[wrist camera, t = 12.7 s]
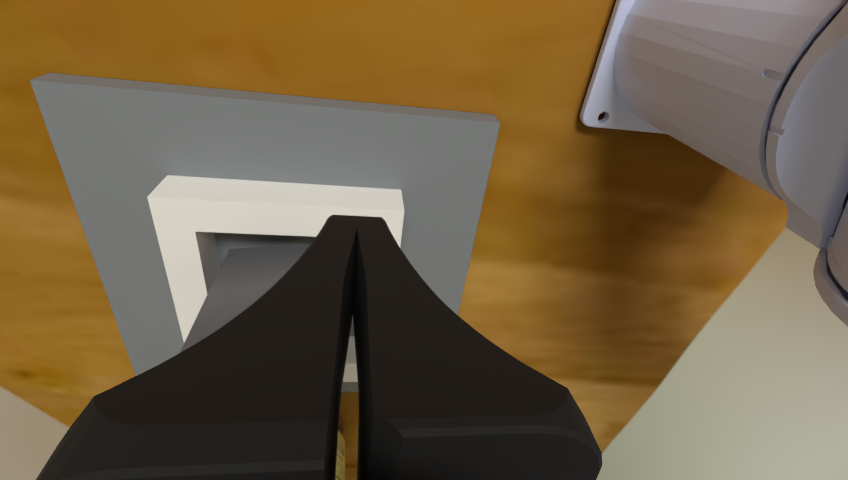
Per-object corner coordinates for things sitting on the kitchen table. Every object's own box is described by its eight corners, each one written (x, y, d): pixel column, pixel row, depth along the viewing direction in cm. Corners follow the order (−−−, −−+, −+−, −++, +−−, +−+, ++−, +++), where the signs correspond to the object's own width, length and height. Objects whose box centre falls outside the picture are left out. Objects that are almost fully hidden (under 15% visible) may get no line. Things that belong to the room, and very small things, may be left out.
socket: (493, 114, 19) (513, 138, 17) (438, 376, 29) (445, 417, 26) (49, 72, 17) (-11, 94, 14) (151, 378, 26) (127, 426, 23)
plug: (330, 228, 20) (316, 339, 14) (342, 312, 23) (334, 433, 17) (236, 234, 20) (180, 351, 14) (260, 318, 23) (223, 444, 17)
